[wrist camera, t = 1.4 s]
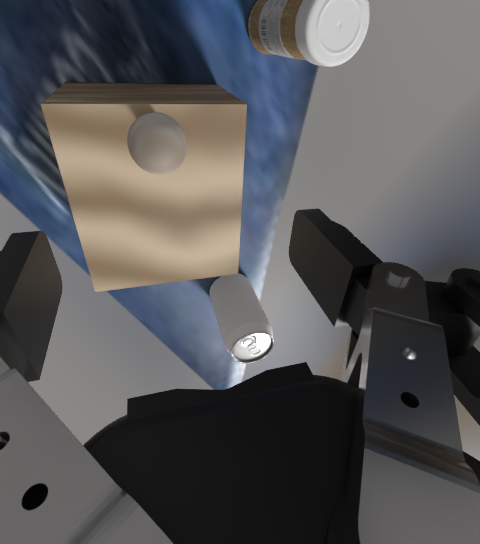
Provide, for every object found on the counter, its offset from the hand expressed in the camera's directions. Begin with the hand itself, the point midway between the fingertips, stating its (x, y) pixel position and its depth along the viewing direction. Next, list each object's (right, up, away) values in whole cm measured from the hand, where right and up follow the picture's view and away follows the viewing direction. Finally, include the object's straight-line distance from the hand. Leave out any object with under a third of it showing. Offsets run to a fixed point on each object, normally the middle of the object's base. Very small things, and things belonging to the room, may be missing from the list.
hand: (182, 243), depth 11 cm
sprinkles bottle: (+5, +23, +20) cm, 31 cm away
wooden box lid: (-5, +5, +17) cm, 18 cm away
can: (0, -3, +38) cm, 39 cm away
